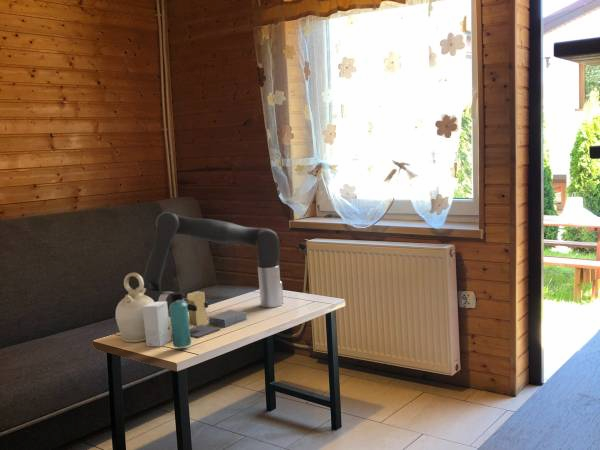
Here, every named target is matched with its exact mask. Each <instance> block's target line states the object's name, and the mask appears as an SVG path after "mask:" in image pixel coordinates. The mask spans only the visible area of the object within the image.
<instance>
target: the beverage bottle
mask: <svg viewBox="0 0 600 450" xmlns="http://www.w3.org/2000/svg"><path fill="white" fill-rule="evenodd" d="M175 292H176V291H175ZM183 294H184V293H183V292H182V291H178V292H176V293H172V294H171V300H181V299H183ZM169 309H170V311H169V319H170V330H171V341H172V345H173V347H174V348H185V347H188V346H190V345H191V343H192V338H191V336H190V334H191V332H190V329H191V327H190V319H189V311H188V309H187V304H186V303H185V302H183V301H177V302H173V303H172V304H171V305H170V306H169Z"/></svg>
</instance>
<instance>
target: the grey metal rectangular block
mask: <svg viewBox="0 0 600 450" xmlns="http://www.w3.org/2000/svg"><path fill="white" fill-rule="evenodd" d="M247 320H248V318H247V312H246V311H240V310H234V309H229V310H227V311H224V312H223V311H222V312H220V313H217V314H215V315H211V316H208V323H209V324H208V325H210V326H214V327H215V326H216V327H219V328H220V327H221V328H227V327H230V326H234V325H235V324H238V323H242V322H244V321H247Z"/></svg>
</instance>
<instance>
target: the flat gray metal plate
mask: <svg viewBox="0 0 600 450" xmlns="http://www.w3.org/2000/svg"><path fill="white" fill-rule="evenodd" d="M219 331H221V328H220V327H215V326H207V325H204V324H203V325H200V326H193V327H190V332H191V334H190V337H193V338H196V339H197V338H198V339H199V338H203V337H205V336H208V335H211V334H213V333H216V332H219Z"/></svg>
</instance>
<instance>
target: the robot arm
mask: <svg viewBox="0 0 600 450" xmlns="http://www.w3.org/2000/svg"><path fill="white" fill-rule="evenodd" d="M155 226H156V227H155V228H156V232H155V239H154V243H153V246H152V250H151V253H150V255H149V257H148V260H147V262H146V265H145V271H144V273H143V276H142V278H143V281H144V283H147V284H148V286H149V288H145V289H146V291H145V293H144V295H146V296H148V297H150V298H151V299H153V301H154V302H164V301H165V302H167V306H168V312H170V309H169V306H170V305H171V304H172V303H173V302H177V301H183V302H185V303H186V304H187V309H188V312H189V310H190V311H197V306H196V305H191V304H188V296H186V295H185V294H184V293H183V299H181V300H171V294H172V293H176V291H163V290H161V281H162V277H163V273H164V270H165V264H166V261H167V257H168V253H169V249H170V246H171V244H172V241H173V239H174V236H175V235H183V236H185V235H187V236H190V237H193V238H195V239H196V238H197V239H199V240H200V239H201V240H204V241H207V242H212V243H220V244H244V245H248V246H252V247H256V248H257V261H256V262H257V263H256V264H257V274H258V287H259V300H260V306H261V307H262V308H275V307H276V308H278V307H280V306H282V304H284V292H283V282H282V281H281V272H280V255H281V254H280V240H279V236H278V234H277V233H276V232H275V231H274V230H272V229H270V228H267V227H251V226H244V225H239V224H236V223H233V222H229V221H228V222H227V221H224V220H219V219H218V220H217V219H211V218H193V217H189V216H188V217H187V216H183V215H180V214H176V213H173V212H171V211H164V212H161V213H159V215H157V218H156V219H155ZM205 306H206V309H208V308H209V303H208V301H205Z"/></svg>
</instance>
